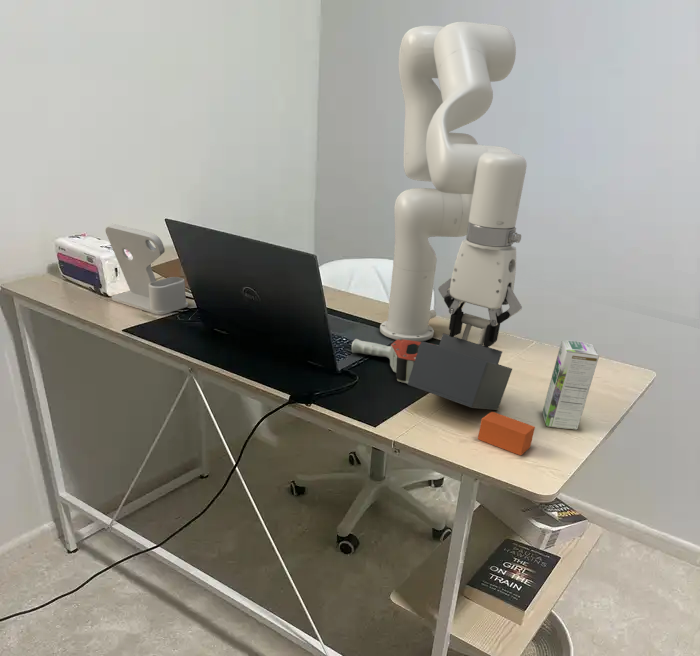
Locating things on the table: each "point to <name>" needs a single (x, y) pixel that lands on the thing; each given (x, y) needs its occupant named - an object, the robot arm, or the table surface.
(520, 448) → the orange block
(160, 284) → the phone holder
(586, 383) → the syrup box
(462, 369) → the caddy
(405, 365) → the tape dispenser
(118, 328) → the table surface
